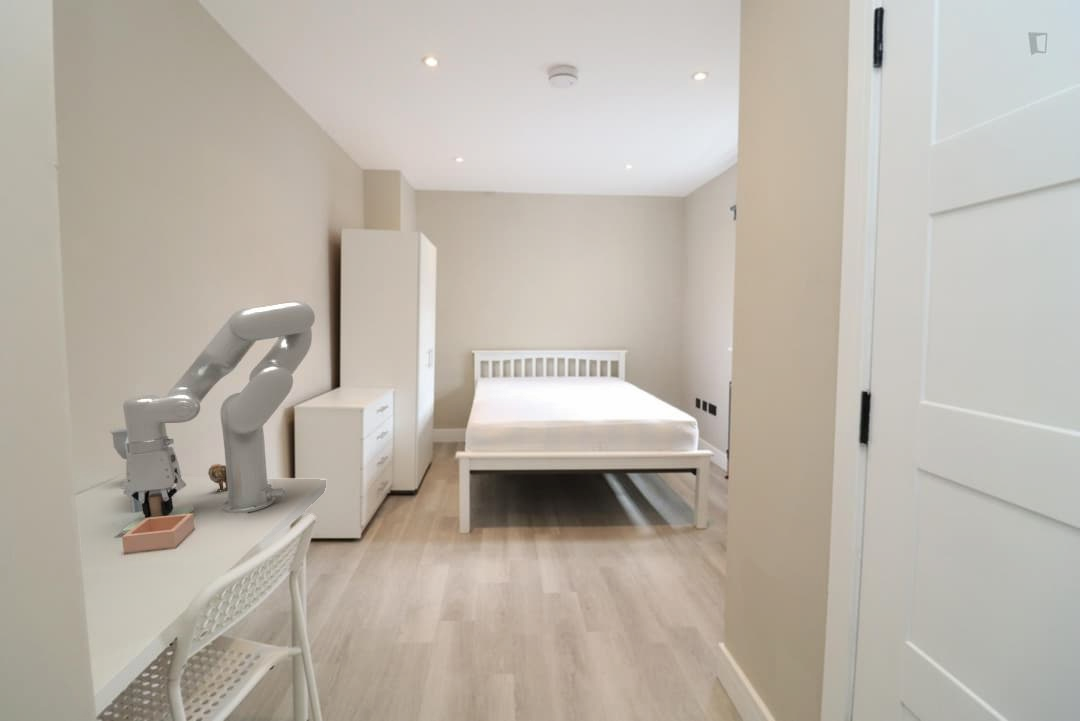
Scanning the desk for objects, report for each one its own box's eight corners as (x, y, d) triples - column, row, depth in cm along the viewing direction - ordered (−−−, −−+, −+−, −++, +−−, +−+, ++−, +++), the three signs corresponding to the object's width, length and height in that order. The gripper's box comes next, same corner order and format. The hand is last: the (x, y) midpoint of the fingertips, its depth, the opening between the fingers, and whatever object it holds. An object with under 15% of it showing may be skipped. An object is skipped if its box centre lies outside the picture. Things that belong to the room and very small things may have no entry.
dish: (194, 530, 121) (193, 513, 120) (175, 549, 111) (173, 531, 110) (147, 535, 118) (146, 517, 118) (124, 555, 108) (122, 536, 108)
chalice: (120, 491, 147) (114, 433, 145) (112, 487, 151) (106, 430, 149) (150, 484, 153) (144, 428, 151) (141, 480, 157) (135, 425, 155)
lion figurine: (218, 497, 142) (215, 467, 141) (205, 495, 144) (202, 465, 143) (261, 480, 156) (259, 452, 155) (249, 478, 158) (247, 451, 157)
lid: (193, 509, 131) (190, 484, 130) (174, 527, 120) (170, 500, 119) (146, 515, 128) (142, 489, 127) (121, 534, 117) (117, 506, 117)
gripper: (193, 437, 127) (201, 504, 129) (119, 444, 123) (129, 513, 125) (179, 446, 120) (189, 516, 122) (100, 453, 116) (112, 526, 118)
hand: (158, 514), depth 124 cm, fingers closed on lid, 3 cm apart
